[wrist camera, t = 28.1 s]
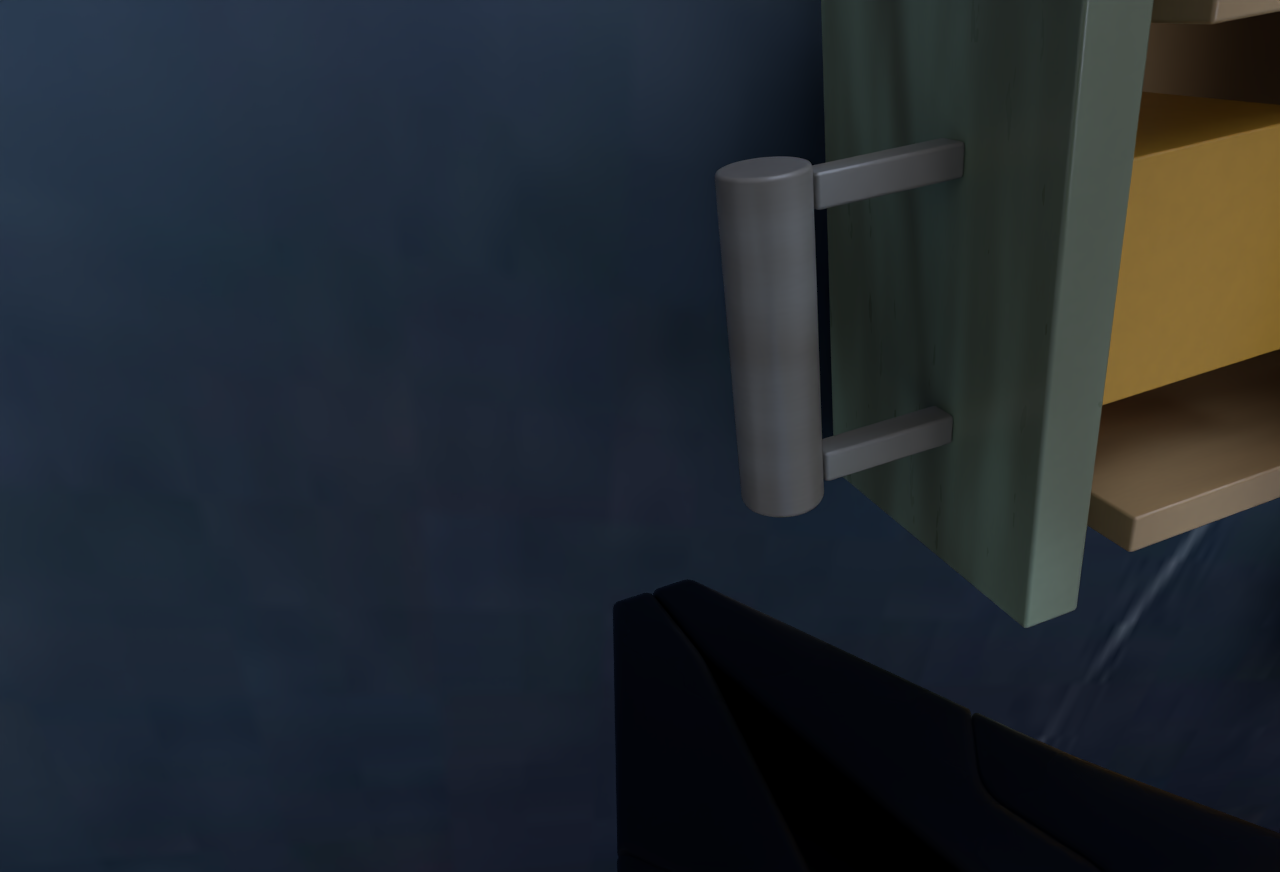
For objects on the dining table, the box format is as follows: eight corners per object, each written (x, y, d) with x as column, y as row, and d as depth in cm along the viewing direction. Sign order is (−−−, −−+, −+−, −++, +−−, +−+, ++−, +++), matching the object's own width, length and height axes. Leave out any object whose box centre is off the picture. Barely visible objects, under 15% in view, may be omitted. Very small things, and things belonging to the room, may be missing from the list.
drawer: (674, 519, 21) (820, 709, 16) (607, -16, 16) (790, -29, 10) (1249, 341, 26) (1530, 437, 20) (1344, -125, 20) (1764, -177, 15)
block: (953, 127, 18) (1131, 158, 15) (1130, 89, 20) (1338, 109, 16) (946, 333, 20) (1100, 407, 17) (1106, 288, 22) (1284, 349, 18)
